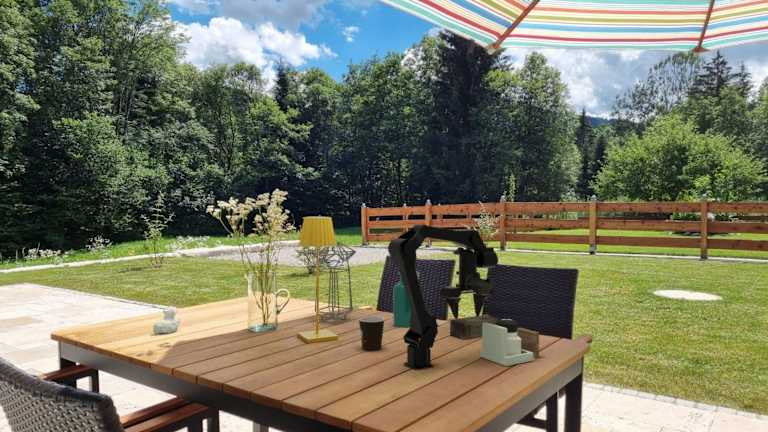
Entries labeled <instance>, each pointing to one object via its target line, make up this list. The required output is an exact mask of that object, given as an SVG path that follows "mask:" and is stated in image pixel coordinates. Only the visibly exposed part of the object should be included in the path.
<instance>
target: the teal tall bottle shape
mask: <svg viewBox="0 0 768 432" xmlns="http://www.w3.org/2000/svg"><path fill="white" fill-rule="evenodd" d="M416 273H417V276H418V280H419V279H420V271H416ZM398 275H400V276H401V274H400V272H398ZM392 290H393V296H392V297H393V298H392V300H393V305H392V306H393V310H392V312H393V313H392V315H393V317H392V319H393V322H392V323H393V326H394V327H395V328H396V327H397V328H408V327H410V322H409V321H410V316H411V310H410V307H409V303H408V300H407V296H406V292H405V289H404V285H403V282H402V278H401V277H400V280H399V282H398V283H396V284H395V285H394V286H393V289H392Z"/></svg>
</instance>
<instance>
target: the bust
mask: <svg viewBox="0 0 768 432" xmlns="http://www.w3.org/2000/svg"><path fill="white" fill-rule="evenodd" d="M177 309H178V308H177V307H176V306H173V305H171V306H168V307H167V308H165V309H163V310H162V313H163V315H164V317H162V318H161V319H158V320H156V322H155V323H154V324H153V327H152V331H153V333H154V334H156V335H159V334H173V333H174V332H176V331H177V330H178V329H179V325H180V324H181V319H180V316H178V315H176V314H177V312H178V310H177Z"/></svg>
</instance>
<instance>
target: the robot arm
mask: <svg viewBox="0 0 768 432" xmlns="http://www.w3.org/2000/svg"><path fill="white" fill-rule="evenodd" d="M425 239H432V240H437V241H443V242H444V241H445V242H448V243H451V244H453V245H456V246H458V247H457V249H456V250H455V251H453V255H458V271H457V270H456V272H455V274H456V275H458V283H455V286H452V285H447V286H441V287H440V289H439V296H442V299H445V301H446V302H447V304H448V306H449V308H450V310H451V311H450V312H451V314H452V316H453V319H459V306H460V305H459V304H460V302H461V300H462V297H461V296H462V294H463V295H465V294H472V298H473V304H474V313H475V316H481V312H482V310H483V307H484V304H485V302H486V301H487V300H488V299H489V297H492V295H494V294H495V287H494V286H495V283H494V281H495V280H494V279H493V278H492V277H487V278H481V273H480V272H478V269H490V268H491V269H492V268H495V267H496V266H497V265H498V263H499V256H498V253H497V252H495V248H494V246H493V247H492V246H486V244H485V243H484V241H483V239H482V237H481V234H480V232H479V231H478V230H477V229H461V228H460V229H448V228H443V227H442V228H441V227H437V226H430V225H427V224H419V223H418V224H415V225H413V226H412V227H411V228H410V229H409V230H407V231H406V232H403V233H402V234H400V235H399V236H398V237H397V238H396V237H395V238H393V239H391V240H390V242H389V244H388V246H387V252H388V253H389V254H388V255H389V256H390V258H391V261H392V262H393V264H394V265H395V266H396V267H397V268H398V270H399V273H400V274H401V275H400V279H401V278H402V282H403V285H404V289H405V292H406V296H407V300H408V303H409V307H410V310H411V316H410V321H409V322H410V328H409V329H408V330H407V331H406V333H404V334H403V336H402V337H403V338H402V339H403V341H404V343H405V344H407V345H406V346H407V349H406V352H407V354H406V357H407V358H406V362H404V363H403V365H405V366H407V367H409V368H411V369H414V370H423V369H425V368H426V369H427V368H431V367H434V364H433V363H431V358H432V357H431V355H432V354H431V353H432V352H431V348H433V347H434V343H435V341H436V337H437V335H438V334H439V329H438V328H439V327H440V326H439V324H438V322H437V321H438V320H437V317H436V313H435V314H434V313H431V312H429V311H428V310H427V307H426V306H427V305H426V302H425V300H424V295H423V292H422V288H421V285H420V282H419V280H418V276H417V273H416V272H417V269H416V263H417V256H418V255H417V250H418V249H419V248H420V247H421V246H422V245H423V243H424V241H425ZM464 248H465V249H464Z"/></svg>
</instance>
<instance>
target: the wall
mask: <svg viewBox="0 0 768 432" xmlns="http://www.w3.org/2000/svg"><path fill="white" fill-rule="evenodd" d="M517 335H518V336H519V337H520V338H521V349H523V350H526V351H529V352H533V360H534V359H539V358H540V332H538V331H534V330H531V329H528V328H527V329H526V328H524V327H517Z"/></svg>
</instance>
